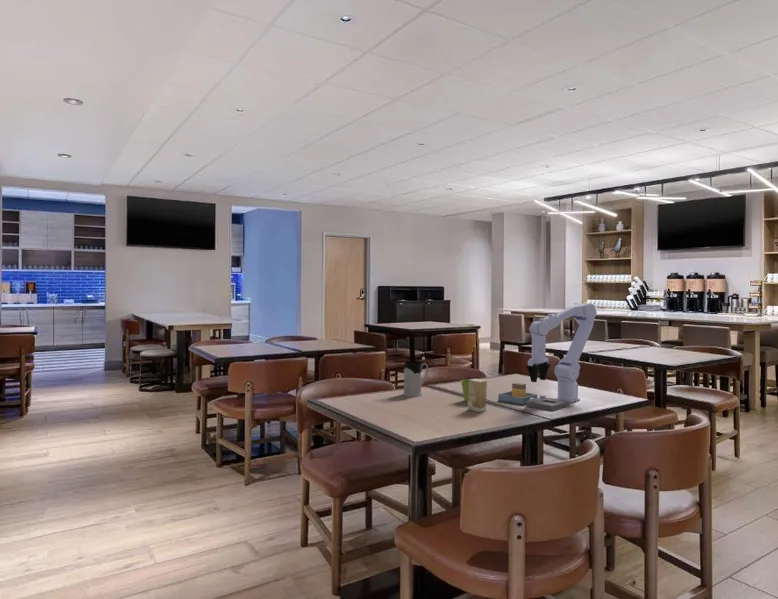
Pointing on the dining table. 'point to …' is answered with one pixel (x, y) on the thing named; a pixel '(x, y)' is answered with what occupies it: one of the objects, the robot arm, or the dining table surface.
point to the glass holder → (413, 378)
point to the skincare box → (477, 395)
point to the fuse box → (546, 403)
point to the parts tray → (515, 398)
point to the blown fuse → (518, 390)
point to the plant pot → (465, 389)
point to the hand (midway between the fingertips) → (538, 381)
